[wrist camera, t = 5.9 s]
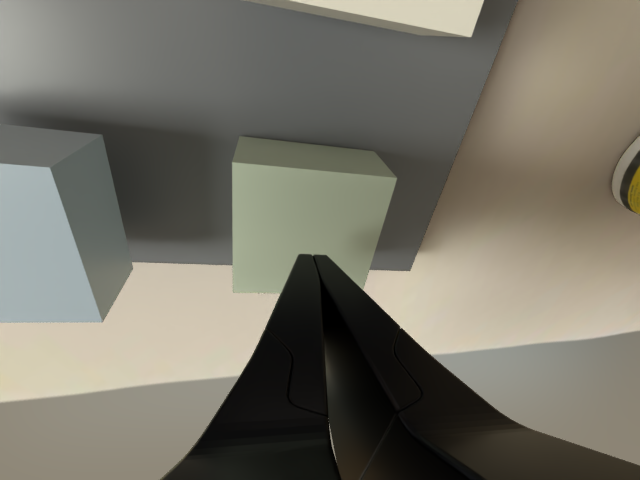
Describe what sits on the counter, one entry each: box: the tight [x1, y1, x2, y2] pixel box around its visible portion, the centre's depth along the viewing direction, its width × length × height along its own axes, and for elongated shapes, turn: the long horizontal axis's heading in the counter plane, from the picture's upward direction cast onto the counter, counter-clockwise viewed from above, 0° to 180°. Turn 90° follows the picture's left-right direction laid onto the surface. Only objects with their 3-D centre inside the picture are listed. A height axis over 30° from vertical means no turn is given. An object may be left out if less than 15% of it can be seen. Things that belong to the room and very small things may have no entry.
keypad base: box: [0, 0, 518, 271], centre depth 10 cm, size 20×15×2 cm
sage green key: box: [232, 136, 397, 293], centre depth 11 cm, size 5×5×2 cm
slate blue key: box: [0, 124, 133, 323], centre depth 8 cm, size 5×5×2 cm
